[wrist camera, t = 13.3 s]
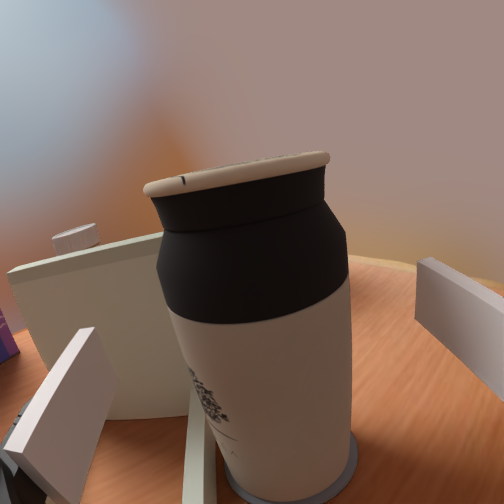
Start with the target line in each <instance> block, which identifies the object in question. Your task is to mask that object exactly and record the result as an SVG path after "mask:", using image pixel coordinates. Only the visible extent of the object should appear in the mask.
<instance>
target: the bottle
mask: <svg viewBox="0 0 504 504" xmlns="http://www.w3.org/2000/svg"><path fill="white" fill-rule="evenodd" d="M99 241H100V238H99V234H98V230H97V227H96V225H95V224H88V225H84V226H81V227H77V228H74V229H71V230H68V231H65V232H63V233H60V234H58V235H56V236H54V237H53V238H52V242H53V246H54V249H55V252H56V254H57V256H61V255H65V254H69V253H73V252H77V251H81V250H85V249H89V248H94V247H98V246H102V245H101V242H99Z"/></svg>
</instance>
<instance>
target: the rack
mask: <svg viewBox="0 0 504 504" xmlns="http://www.w3.org/2000/svg"><path fill="white" fill-rule="evenodd" d="M163 233H164V232H160V233H155V234H151V235H146V236H141V237H137V238H132V239H128V240H124V241H119V242H115V243H111V244H107V245H102V246H98V247H94V248H89V249H85V250H81V251H77V252H73V253H69V254H65V255H61V256H57V257H53V258H49V259H45V260H41V261H37V262H33V263H30V264H26V265H22V266H18V267H16V268H14V269H13V270H11V271H9V272H8V273H7V274H6V275H7V277H8V280H9V283H10V286H11V288H12V291H13V294H14V297H15V299H16V302H17V304H18V307H19V309H20V312H21V314H22V317H23V319H24V321H25V324H26V326H27V328H28V330H29V333H30V335H31V337H32V339H33V341H34V343H35V345H36V347H37V350H38V352H39V354H40V356H41V358H42V359H43V361H44V363H45V365H46V367H47V369H48V371H49V372H50V371H51V369H52V368H53V366H54V365H55V363H56V362H57V360H58V359H59V357H60V356H61V354H62V353H63V352H64V350H65V349H66V347H67V346H68V344H69V343H70V342H71V340H72V339H73V337H74V336H75V335H76V333H77V332H78V330H79V329H84V328H91V327H95V328H96V331H97V333H98V336H99V338H100V340H101V343H102V345H103V347H104V349H105V352H106V354H107V356H108V358H109V361H110V363H111V365H112V367H113V369H114V371H115V373H116V375H117V377H118V379H119V384H118V387H117V389H116V392H115V395H114V397H113V400H112V403H111V406H110V408H109V411H108V414H107V417H106V420H130V419H150V418H164V417H176V416H186V415H188V426H187V438H186V451H185V465H184V480H183V497H182V504H217V493H216V449H215V436H214V434H213V432H212V429H211V427H210V424H209V422H208V419H207V417H206V415H205V412H204V410H203V407H202V405H201V402H200V399H199V397H198V394H197V392H196V389H195V386H194V384H193V381H192V378H191V376H190V373H189V370H188V367H187V365H186V362H185V359H184V356H183V353H182V350H181V347H180V344H179V342H178V339H177V336H176V333H175V329H174V326H173V323H172V320H171V317H170V314H169V311H168V307H167V304H166V301H165V298H164V294H163V291H162V287H161V284H160V281H159V277H158V273H157V270H156V264H157V259H158V255H159V250H160V246H161V241H162V237H163ZM45 503H46V504H56V503H55V502H54V501H53V500H51V499H50V498H49V497H48V496H47V498H46V501H45Z"/></svg>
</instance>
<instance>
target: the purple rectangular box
mask: <svg viewBox="0 0 504 504" xmlns="http://www.w3.org/2000/svg"><path fill="white" fill-rule="evenodd" d="M18 353H20V351H19V349H18V347H17V345H16V343H15V341H14V338H13V336H12V334H11V332H10V330H9V328H8V325H7V323H6V321H5V318H4V316H3V314H2V311H1V309H0V364H1V363H3V362H5V361H6V360H8V359H10V358H11V357H13V356H15V355H16V354H18Z"/></svg>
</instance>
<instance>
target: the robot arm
mask: <svg viewBox="0 0 504 504" xmlns="http://www.w3.org/2000/svg"><path fill="white" fill-rule="evenodd" d="M415 319H416V320H417V321H418V322H419V323H420V324H421V325H422V326H423V327H425V328H426V329H427V330H428V331H429V332H430V333H431V334H432V335H433V336H435V337H436V338H437V339H438V340H439V341H440V342H441V343H442V344H443V345H444V346H446V347H447V348H448V349H449V350H450V351H451V352H452V353H453V354H454V355H455V356H456V357H457V358H458V359H460V360H461V361H462V362H463V363H464V364H465V365H466V366H467V367H468V368H469V369H470V370H471V371H472V372H473V373H474V374H475V375H476V376H477V377H479V378H480V379H481V380H482V381H483V382H484V383H485V384H486V385H487V386H488V387H489V388H490V389H491V390H492V391H493V392H494V393H495V394H496V395H497V396H498V397H499V398H500V399H501V400H502V401H503V402H504V297H502V296H500V295H498V294H497V293H495V292H493V291H492V290H490V289H488V288H486V287H485V286H483V285H481V284H480V283H478V282H476V281H474V280H472V279H471V278H469V277H467V276H465V275H463V274H462V273H460V272H458V271H456V270H454V269H452V268H450V267H449V266H447V265H445V264H443V263H441V262H439V261H437V260H436V259H434V258H432V257H429V258H426V259H422V260H418V261H417V282H416V305H415ZM118 384H119V379H118V377H117V375H116V373H115V371H114V369H113V367H112V365H111V363H110V361H109V358H108V356H107V354H106V352H105V349H104V347H103V345H102V343H101V340H100V338H99V336H98V333H97V331H96V328H95V327H91V328H84V329H79V330H78V332H77V333H76V335H75V336H74V337H73V339H72V340H71V342H70V343H69V344H68V346H67V347H66V349H65V350H64V352H63V353H62V354H61V356H60V357H59V359H58V360H57V362H56V363H55V365H54V366H53V368H52V369H51V371H50V372H49V374H48V375H47V377H46V378H45V380H44V381H43V383H42V384H41V386H40V388H39V389H38V391H37V392H36V394H35V396H33V397H32V398H31V399H30V400H29V401H28V402H27V403H26V404H25V405H24V406H23V408H22V409H21V411H20V412H19V414H18V417H16V419H15V421H14V422H13V424H14V425H12V426H11V427H10V429H9V431H8V433H7V434H6V436H5V438H4V440H3V441H2V443H1V445H0V504H46V503H45V501H46V498H47V496H48V497H49V498H50V499H51V500H53V501H54V502H55V503H56V504H79V503H80V500H81V496H82V493H83V489H84V486H85V482H86V479H87V475H88V472H89V469H90V466H91V462H92V459H93V456H94V453H95V450H96V447H97V444H98V440H99V437H100V434H101V432H102V429H103V426H104V423H105V420H106V417H107V414H108V411H109V408H110V406H111V403H112V400H113V397H114V395H115V392H116V389H117V387H118Z"/></svg>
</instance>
